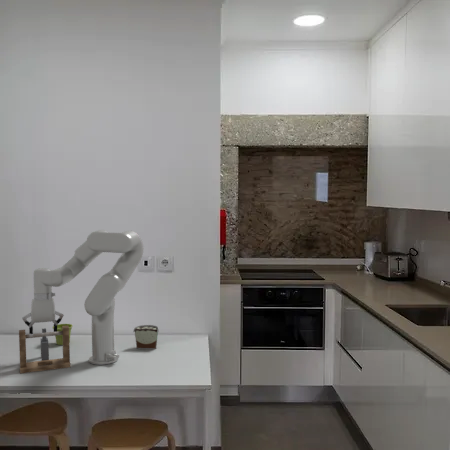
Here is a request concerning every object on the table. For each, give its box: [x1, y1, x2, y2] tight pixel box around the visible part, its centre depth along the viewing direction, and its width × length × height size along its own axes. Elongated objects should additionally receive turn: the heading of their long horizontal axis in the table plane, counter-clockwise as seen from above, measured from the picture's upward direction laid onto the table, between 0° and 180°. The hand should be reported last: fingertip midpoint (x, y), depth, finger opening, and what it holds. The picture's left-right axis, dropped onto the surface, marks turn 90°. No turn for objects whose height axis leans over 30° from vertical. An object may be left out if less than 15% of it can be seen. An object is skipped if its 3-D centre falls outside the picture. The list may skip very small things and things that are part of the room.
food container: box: [133, 324, 160, 350], centre depth 255 cm, size 12×6×10 cm, turn 84°
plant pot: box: [52, 323, 73, 346], centre depth 261 cm, size 9×9×9 cm
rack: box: [18, 326, 71, 374], centre depth 227 cm, size 20×9×16 cm, turn 111°
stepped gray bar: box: [40, 328, 50, 361], centre depth 237 cm, size 8×3×14 cm, turn 21°
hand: (43, 334), depth 237 cm, fingers open, 9 cm apart
